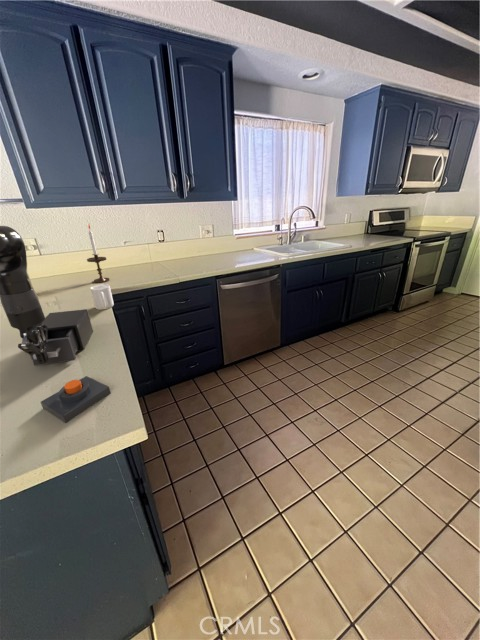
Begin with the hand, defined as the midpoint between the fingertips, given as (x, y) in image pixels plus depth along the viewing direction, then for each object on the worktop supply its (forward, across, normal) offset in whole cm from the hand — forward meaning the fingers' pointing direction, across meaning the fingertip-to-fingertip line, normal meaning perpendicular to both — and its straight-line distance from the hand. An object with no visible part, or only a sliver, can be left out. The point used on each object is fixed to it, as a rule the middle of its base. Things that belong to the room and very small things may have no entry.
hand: (44, 362), depth 77 cm
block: (+5, +14, +11) cm, 19 cm away
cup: (+5, -54, +6) cm, 55 cm away
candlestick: (+5, -106, -5) cm, 106 cm away
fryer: (+5, -21, 0) cm, 22 cm away
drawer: (+4, -10, 0) cm, 11 cm away
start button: (+1, +14, +11) cm, 18 cm away
